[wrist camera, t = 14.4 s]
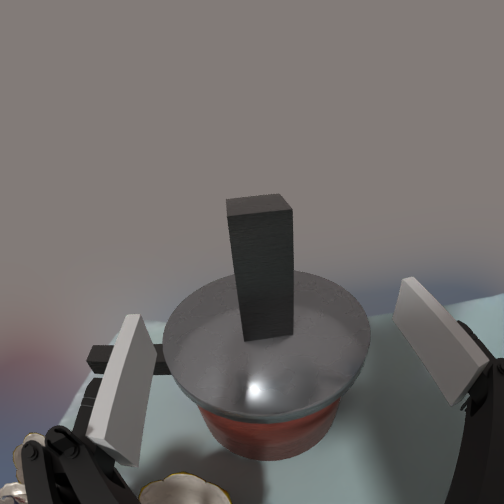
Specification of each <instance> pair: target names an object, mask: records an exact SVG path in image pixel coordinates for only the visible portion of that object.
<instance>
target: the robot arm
mask: <svg viewBox="0 0 504 504" xmlns="http://www.w3.org/2000/svg"><path fill="white" fill-rule="evenodd" d="M392 320H393V321H394V323H395V324H396V325H397V327H398V328H399V330H400V331H401V332H402V334H403V335H404V336H405V338H406V339H407V341H408V342H409V344H410V345H411V346H412V348H413V349H414V351H415V352H416V354H417V355H418V357H419V358H420V359H421V361H422V362H423V364H424V365H425V367H426V368H427V370H428V371H429V373H430V375H431V376H432V378H433V379H434V381H435V382H436V384H437V385H438V387H439V389H440V390H441V392H442V393H443V395H444V397H445V398H446V400H447V401H448V403H449V405H450V406H453V405H454V404H456V403H458V402H459V401H461V400H462V399H463V398H464V397H465V395H466V394H467V393H469V395H470V397H469V398H468V399H467V400H466V402H465V403H464V404H463V405H462V407H461V409H460V411H462V410H463V409H464V408H465V406H466V405H467V408H466V409H465V411H466V418H465V425H464V431H463V437H462V442H461V447H460V452H459V456H458V461H457V465H456V469H455V472H454V476H453V480H452V483H451V486H450V489H449V492H448V495H447V498H446V501H445V504H504V358H498V359H496V358H495V357H494V356H493V355H492V354H491V353H490V351H489V350H488V349H487V348H486V347H485V345H484V344H483V343H482V342H481V341H480V339H478V337H477V336H476V335H475V334H473V331H472V330H471V329H470V328H469V327H468V326H467V325H466V324H464V323H463V322H461V321H459V320H458V321H456V320H455V319H454V318H453V317H452V316H451V315H450V314H449V313H448V311H447V310H446V309H445V308H444V307H443V306H442V305H441V304H440V303H439V302H438V301H437V300H436V299H435V298H434V297H433V296H432V295H431V294H430V293H429V292H428V291H427V290H426V289H425V288H424V287H423V286H422V285H421V284H420V283H419V282H418V281H417V280H416V279H415V278H414V277H409V278H404V279H402V283H401V287H400V291H399V295H398V299H397V304H396V307H395V311H394V314H393V318H392ZM156 357H157V352H156V350H155V348H154V345H153V343H152V341H151V338H150V336H149V334H148V331H147V329H146V326H145V324H144V321H143V319H142V316H141V314H132V315H126V318H125V320H124V322H123V325H122V327H121V330H120V332H119V335H118V337H117V340H116V343H115V345H114V348H113V351H112V353H111V356H110V359H109V362H108V364H107V367H106V370H105V373H104V376H103V378H93V380H92V381H91V382H90V383H89V385H88V386H87V388H86V391H85V394H84V398H83V399H82V402H81V406H80V408H79V412H78V415H77V418H76V421H75V424H74V428H73V431H72V432H71V431H70V430H69V429H68V428H66V427H64V426H60V425H58V426H54V427H52V428H51V429H50V430H48V432H47V434H46V435H45V440H44V442H45V446H42V445H41V444H40V443H39V442H37V441H35V440H30V441H27V442H26V443H25V444H24V445H23V447H22V449H21V461H22V470H23V478H24V484H25V490H26V496H27V501H28V504H141V503H140V501H139V500H138V499H137V497H136V496H135V495H134V493H133V492H132V491H131V489H130V488H129V487H128V485H127V484H126V482H125V481H124V479H123V478H122V477H121V475H120V474H119V472H118V471H117V469H116V468H115V467H114V463H115V461H117V462H118V463H119V464H121V465H124V466H130V467H137V468H138V466H139V458H140V450H141V442H142V435H143V428H144V422H145V416H146V410H147V404H148V398H149V392H150V387H151V382H152V377H153V372H154V367H155V362H156Z"/></svg>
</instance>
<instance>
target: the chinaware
mask: <svg viewBox="0 0 504 504" xmlns="http://www.w3.org/2000/svg"><path fill="white" fill-rule="evenodd" d="M30 440H35V441H37V442H39V443H40V444H41V445H42V446H45V442H44V440H45V437H44V436H43V435H41V434H39V433H29V434H28V435H27V436H26V437H25V438H24V442H23V443H24V444H25V443H26V442H27V441H30ZM22 447H23V444H21V445H19V446H17V447H16V449H15V450H14V452H13V462H14V464H15V467H16V469H18V470H17V472H16V477H17V479H18V482H19V483H17V482H14V483H9V484H5V486H4V487H3V488H1V489H0V504H28V501H27V496H26V490H25V484H24V478H23V470H22V461H21V449H22ZM139 501H140V503H141V504H232V501H231V499H230V495H229V493H228V492H227V491H226V490H224V489H222V488H221V487H219V486H218V485H215V484H213V483H210V482H206V480H204V479H202V478H200V477H198V476H196V475H194V474H190V473H187V472H178V473H173V474H171V475H169V476H167V477H166V478H164V481H163V480H158V481H154V482H150V483H149V484H147V485H146V486H144V487H142V488H141V491H140V494H139Z"/></svg>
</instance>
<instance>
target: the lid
mask: <svg viewBox="0 0 504 504" xmlns="http://www.w3.org/2000/svg"><path fill="white" fill-rule="evenodd" d="M226 205H227V219H228V227H229V235H230V243H231V251H232V258H233V265H234V273H235V274H234V275H230V276H227V277H224V278H221V279H218V280H216V281H213V282H211V283H209V284H207V285H205V286H203V287H201V288H200V289H198V290H196V291H195V292H193V293H192V294H191V295H189V296H188V297H187V298H186V299H185V300H183V301H182V302H181V303H180V304H179V305H178V306H177V308H176V309H175V310H174V312H173V313H172V314H171V316H170V318H169V320H168V322H167V324H166V326H165V330H164V333H163V341H162V344H163V353H164V357H165V361H166V363H167V365H168V368H169V370H170V372H171V374H172V376H173V378H174V380H175V382H176V384H177V385H178V386H179V388H180V389H181V390H182V392H183V393H184V394H185V395H186V396H187V397H188V398H190V399H191V400H192V401H193V402H194V403H196V404H197V405H199V406H200V407H202V408H203V409H205V410H207V411H209V412H211V413H213V414H215V415H217V416H220V417H223V418H226V419H230V420H233V421H238V422H244V423H253V424H272V423H281V422H288V421H292V420H296V419H300V418H303V417H306V416H308V415H311V414H313V413H316V412H318V411H320V410H322V409H323V408H325V407H327V406H329V405H330V404H332V403H333V402H335V401H336V400H337V399H338V398H340V397H341V396H342V395H343V394H344V393H345V392H346V391H347V390H348V389H349V388H350V387H351V386H352V385H353V383H354V382H355V380H356V379H357V377H358V376H359V374H360V372H361V370H362V367H363V365H364V362H365V359H366V356H367V352H368V348H369V344H370V326H369V321H368V318H367V315H366V313H365V311H364V310H363V308H362V306H361V305H360V303H359V302H358V301H357V300H356V299H355V298H354V297H353V296H352V295H351V294H350V293H349V292H348V291H346V290H345V289H344V288H342V287H341V286H339V285H337V284H335V283H334V282H332V281H329V280H327V279H325V278H322V277H319V276H316V275H313V274H309V273H305V272H299V271H294V255H293V253H294V252H293V211H292V208H291V207H290V206H289V205H288V203H287V202H286V201H285V200H284V198H283V197H282V196H281V195H280V194H271V195H260V196H251V197H242V198H234V199H226Z"/></svg>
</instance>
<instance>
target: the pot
mask: <svg viewBox="0 0 504 504" xmlns="http://www.w3.org/2000/svg"><path fill="white" fill-rule="evenodd" d="M153 345H154V348H155V350H156V352H157V357H156V362H155V367H154V372H153V375H172V374H171V372H170V370H169V368H168V365H167V363H166V361H165V357H164V353H163V344H153ZM113 348H114V345H105V346H104V345H93V347H92V349H91V351H90V353H89V356H88V358H87V363H88V365H89V366H90V367H91V369H92V371H93V372H94V374H104V373H105V370H106V367H107V364H108V362H109V359H110V356H111V353H112V351H113ZM340 399H341V397H340V398H338V399H337V400H336V401H335V402H333V403H332V404H330V405H329V406H327V407H325V408H323V409H322V410H320V411H318V412H316V413H313V414H311V415H308V416H306V417H303V418H300V419H296V420H292V421H288V422H281V423H272V424H253V423H244V422H238V421H233V420H230V419H226V418H223V417H220V416H217V415H215V414H213V413H211V412H209V411H207V410H205V409H203V408H202V407H200V406H199V405H197V406H198V408H199V410H200V412H201V414H202V416H203V418H204V420H205V422H206V424H207V426H208V428H209V430H210V432H211V433H212V435H213V436H214V438H215V439H216V440H217V441H218V442H219V443H220V444H221V445H222V446H224V447H225V448H226V449H228V450H229V451H231V452H233V453H235V454H237V455H239V456H242V457H245V458H248V459H253V460H259V461H276V460H283V459H287V458H291V457H294V456H297V455H299V454H301V453H303V452H305V451H307V450H309V449H310V448H312V447H313V446H315V445H316V444H317V443H318V442H319V441H320V440H321V439H322V438H323V437H324V436H325V435H326V433H327V432H328V430H329V429H330V427H331V425H332V423H333V420H334V417H335V414H336V411H337V408H338V405H339V402H340Z"/></svg>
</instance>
